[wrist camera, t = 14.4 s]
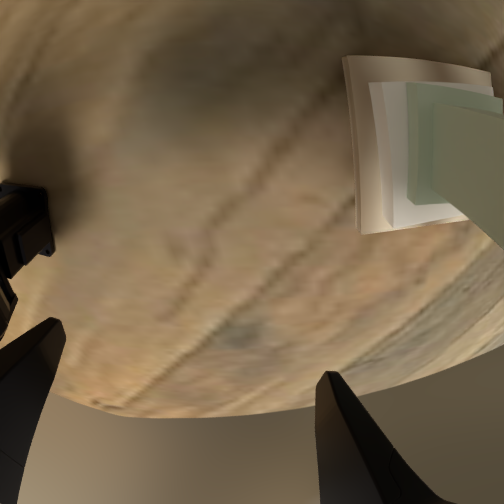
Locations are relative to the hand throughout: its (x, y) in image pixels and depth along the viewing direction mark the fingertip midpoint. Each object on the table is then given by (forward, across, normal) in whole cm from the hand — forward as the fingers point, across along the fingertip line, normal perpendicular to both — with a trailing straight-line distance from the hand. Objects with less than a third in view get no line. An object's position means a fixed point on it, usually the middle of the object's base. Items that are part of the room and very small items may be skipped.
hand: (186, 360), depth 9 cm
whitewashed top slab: (+12, -13, -8) cm, 19 cm away
